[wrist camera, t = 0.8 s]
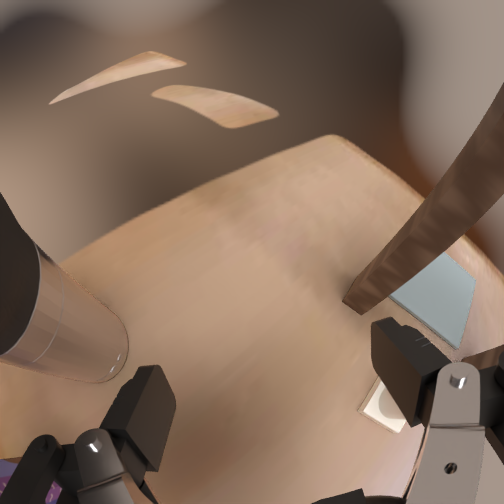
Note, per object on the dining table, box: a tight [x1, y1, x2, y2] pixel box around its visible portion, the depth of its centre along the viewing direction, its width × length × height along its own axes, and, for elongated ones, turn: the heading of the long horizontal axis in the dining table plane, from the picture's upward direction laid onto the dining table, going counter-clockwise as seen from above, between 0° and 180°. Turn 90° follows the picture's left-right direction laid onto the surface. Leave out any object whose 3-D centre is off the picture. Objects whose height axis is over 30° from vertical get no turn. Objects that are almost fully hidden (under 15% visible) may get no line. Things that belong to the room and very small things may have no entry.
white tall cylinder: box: [358, 376, 406, 433], centre depth 21 cm, size 6×6×14 cm
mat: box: [388, 252, 476, 349], centre depth 34 cm, size 14×13×1 cm
